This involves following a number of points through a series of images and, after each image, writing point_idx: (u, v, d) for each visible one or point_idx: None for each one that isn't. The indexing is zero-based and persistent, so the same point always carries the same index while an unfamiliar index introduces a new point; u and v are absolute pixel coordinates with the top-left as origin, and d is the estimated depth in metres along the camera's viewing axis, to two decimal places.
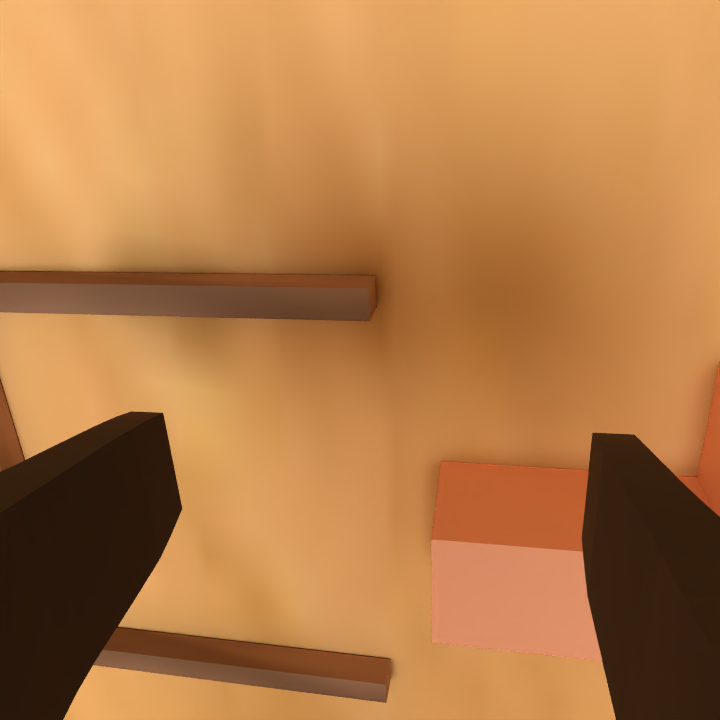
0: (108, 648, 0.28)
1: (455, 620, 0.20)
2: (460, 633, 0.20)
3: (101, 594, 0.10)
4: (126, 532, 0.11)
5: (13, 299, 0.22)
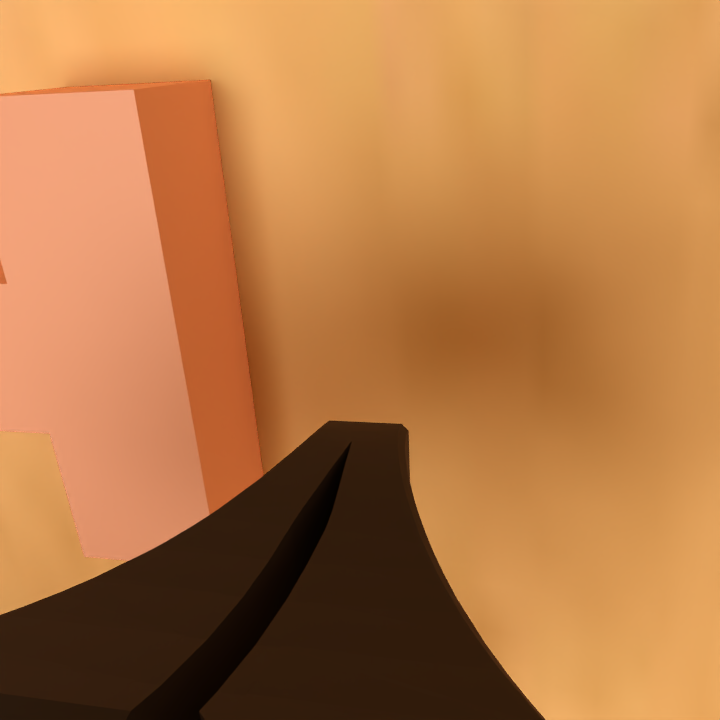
0: None
1: None
2: None
3: None
4: None
5: None
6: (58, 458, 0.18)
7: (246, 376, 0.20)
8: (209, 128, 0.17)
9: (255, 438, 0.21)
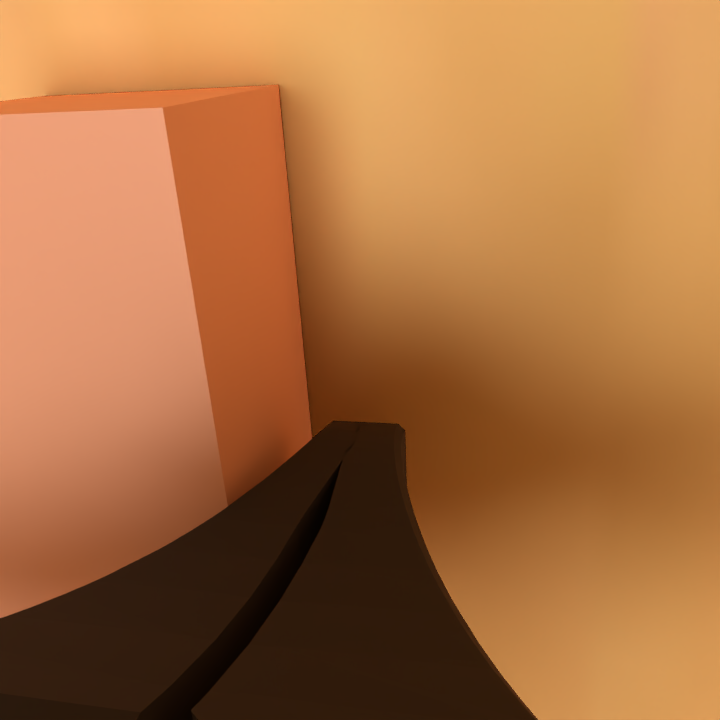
0: None
1: None
2: None
3: None
4: None
5: None
6: None
7: None
8: (276, 164, 0.10)
9: None
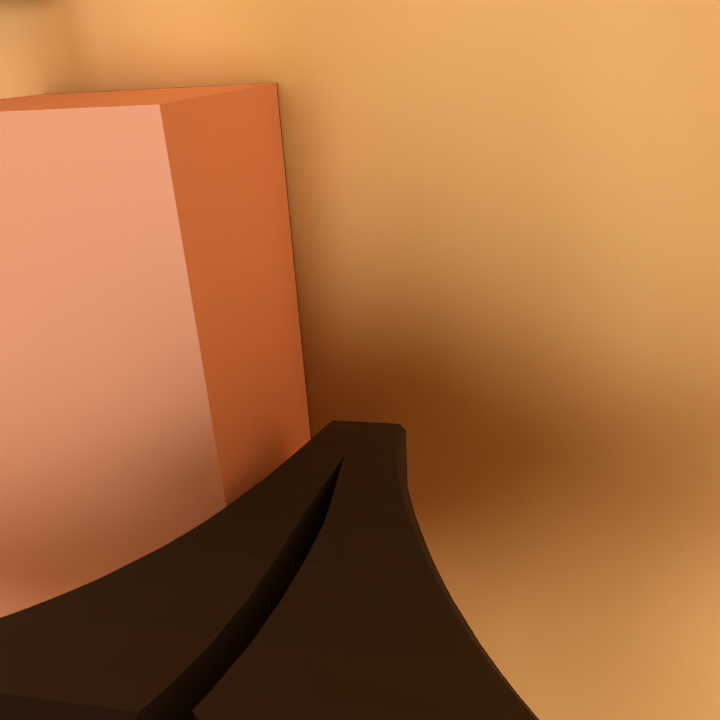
0: None
1: None
2: None
3: None
4: None
5: None
6: None
7: None
8: (274, 162, 0.10)
9: None
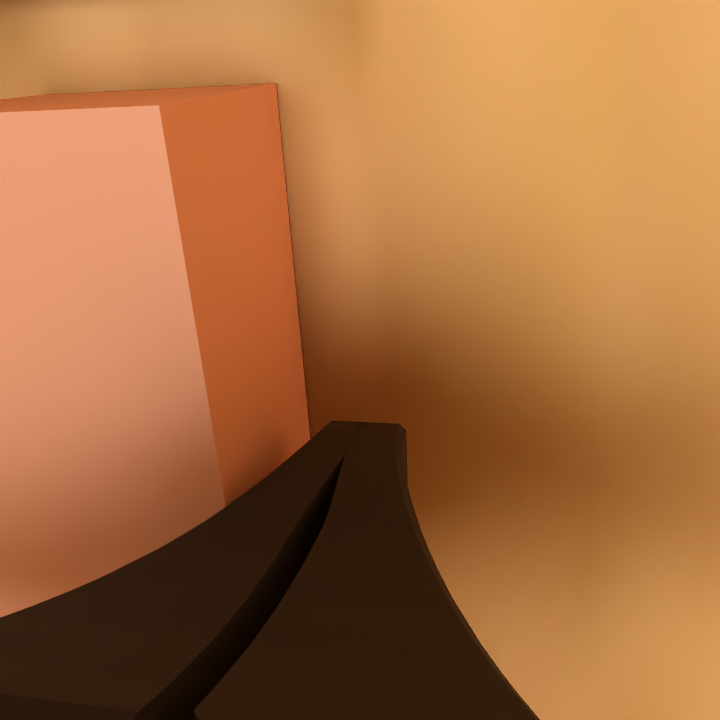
0: None
1: None
2: None
3: None
4: None
5: None
6: None
7: None
8: (274, 162, 0.10)
9: None
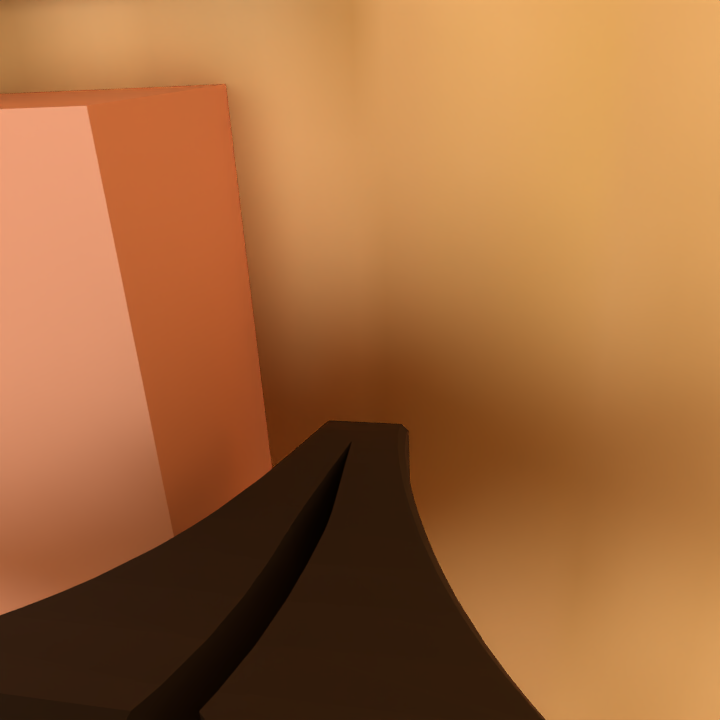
0: None
1: None
2: None
3: None
4: None
5: None
6: None
7: None
8: (223, 162, 0.10)
9: None
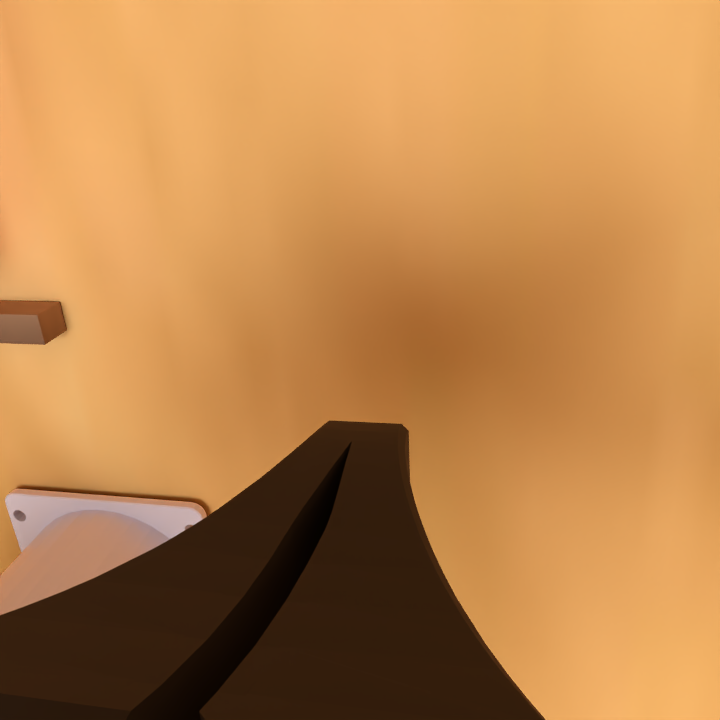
0: None
1: None
2: None
3: None
4: None
5: None
6: None
7: None
8: None
9: None
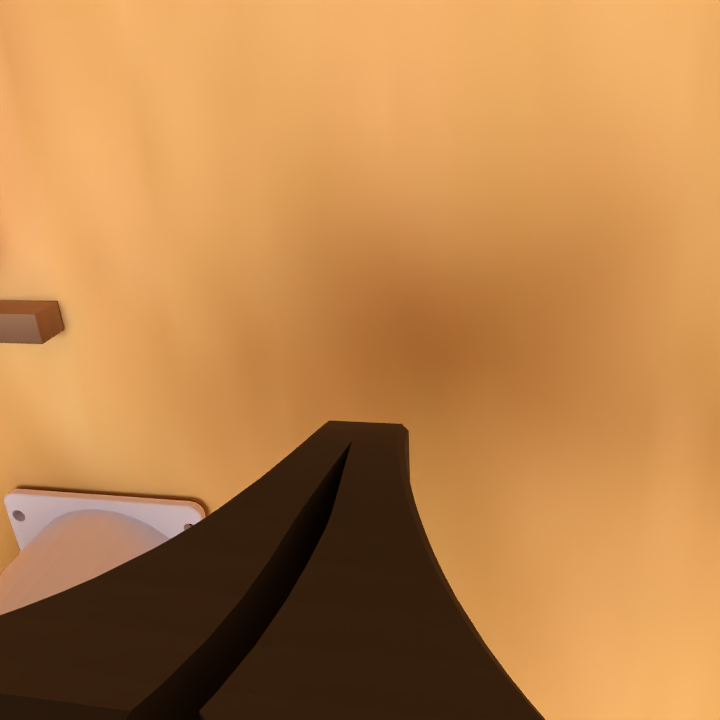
0: None
1: None
2: None
3: None
4: None
5: None
6: None
7: None
8: None
9: None
